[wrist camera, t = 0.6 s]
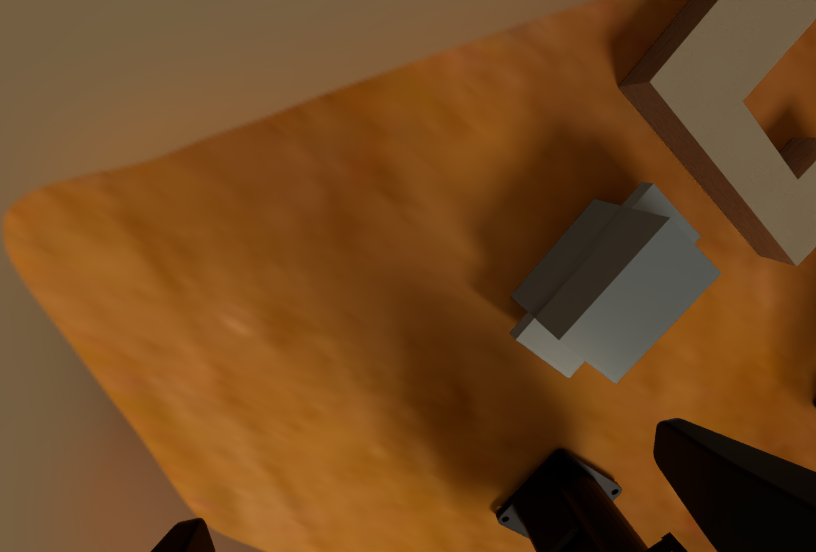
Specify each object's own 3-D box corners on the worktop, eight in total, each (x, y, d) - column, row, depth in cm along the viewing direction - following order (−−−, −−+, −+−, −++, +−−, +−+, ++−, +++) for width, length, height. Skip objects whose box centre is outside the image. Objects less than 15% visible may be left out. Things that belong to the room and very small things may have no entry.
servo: (693, 262, 23) (784, 295, 18) (582, 380, 24) (641, 438, 20) (612, 177, 20) (695, 190, 16) (493, 315, 22) (537, 364, 17)
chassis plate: (942, 66, 22) (1000, 60, 20) (759, 255, 24) (796, 266, 22) (835, -176, 17) (898, -214, 15) (618, 86, 19) (649, 81, 17)
